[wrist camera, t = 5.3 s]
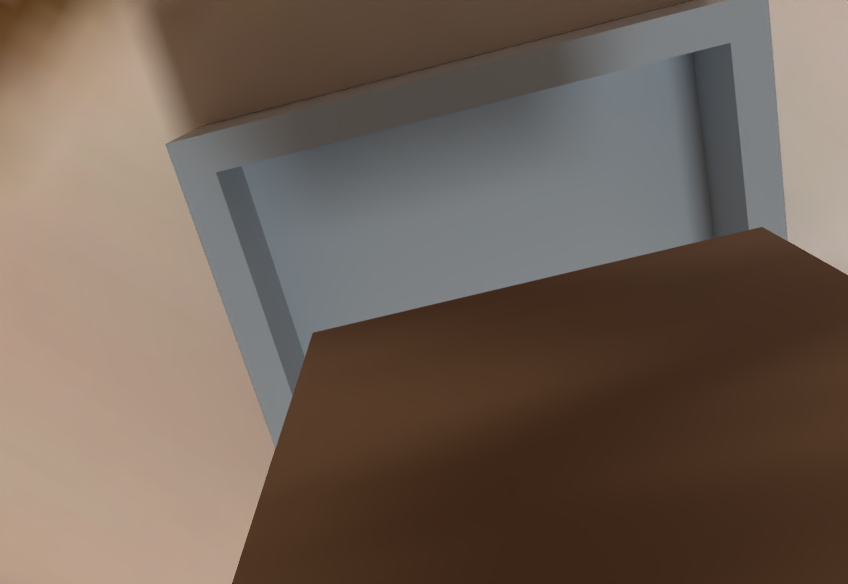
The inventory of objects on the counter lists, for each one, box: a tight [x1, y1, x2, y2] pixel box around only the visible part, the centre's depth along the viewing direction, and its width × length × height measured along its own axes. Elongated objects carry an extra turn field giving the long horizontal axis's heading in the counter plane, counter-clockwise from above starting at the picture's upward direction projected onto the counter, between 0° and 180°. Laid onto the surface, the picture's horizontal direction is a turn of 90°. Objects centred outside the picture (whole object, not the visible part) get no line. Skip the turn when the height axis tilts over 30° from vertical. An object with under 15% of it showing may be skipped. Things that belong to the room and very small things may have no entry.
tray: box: [166, 0, 788, 448], centre depth 14 cm, size 9×9×2 cm
